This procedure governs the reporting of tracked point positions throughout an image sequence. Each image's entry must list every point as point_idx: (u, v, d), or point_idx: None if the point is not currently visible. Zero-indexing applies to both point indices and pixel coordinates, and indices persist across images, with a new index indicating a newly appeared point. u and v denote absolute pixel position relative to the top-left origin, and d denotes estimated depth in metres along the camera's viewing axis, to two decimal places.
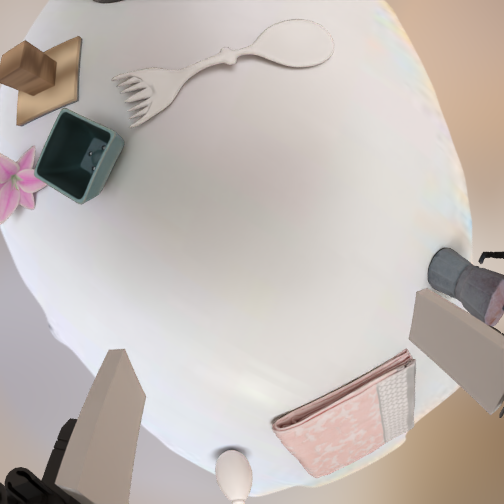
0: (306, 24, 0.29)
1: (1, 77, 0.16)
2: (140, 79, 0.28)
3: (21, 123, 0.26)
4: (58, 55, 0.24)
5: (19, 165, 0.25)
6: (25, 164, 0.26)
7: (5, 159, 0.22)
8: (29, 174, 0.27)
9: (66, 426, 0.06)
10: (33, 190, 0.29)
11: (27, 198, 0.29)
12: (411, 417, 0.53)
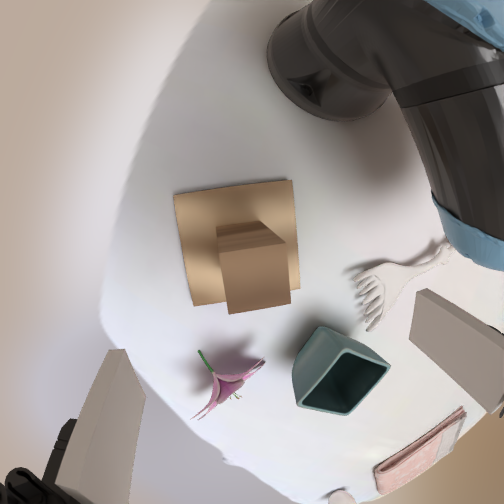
0: None
1: (240, 309, 0.19)
2: (377, 278, 0.31)
3: None
4: (260, 207, 0.27)
5: (241, 377, 0.28)
6: None
7: (238, 388, 0.25)
8: (245, 375, 0.30)
9: (66, 426, 0.06)
10: None
11: None
12: (453, 445, 0.56)
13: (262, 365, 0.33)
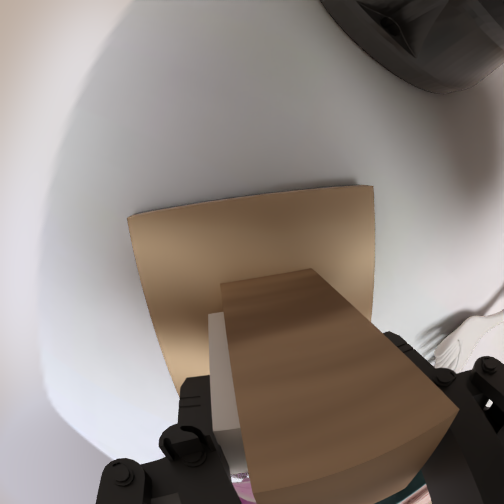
0: None
1: None
2: (458, 341, 0.17)
3: None
4: (313, 242, 0.13)
5: None
6: None
7: None
8: None
9: (185, 385, 0.08)
10: None
11: None
12: None
13: None
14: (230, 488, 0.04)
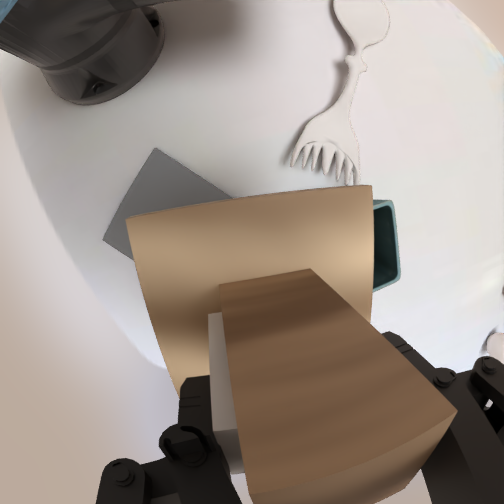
0: None
1: None
2: (313, 142, 0.27)
3: None
4: (311, 242, 0.13)
5: None
6: None
7: None
8: None
9: (185, 385, 0.08)
10: None
11: None
12: None
13: None
14: (230, 488, 0.04)
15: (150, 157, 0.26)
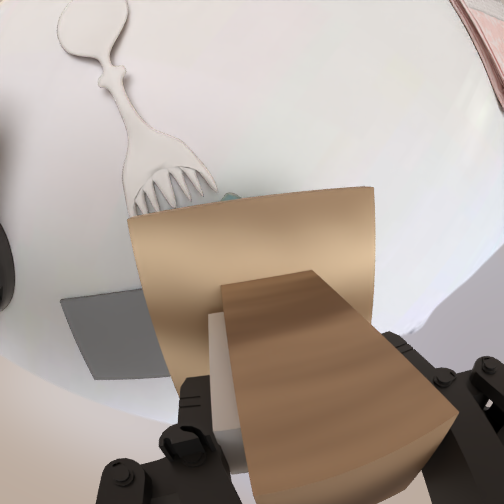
0: (65, 19, 0.16)
1: None
2: (140, 190, 0.23)
3: None
4: (313, 243, 0.13)
5: None
6: None
7: None
8: None
9: (185, 385, 0.08)
10: None
11: None
12: None
13: None
14: (230, 488, 0.04)
15: (63, 309, 0.26)
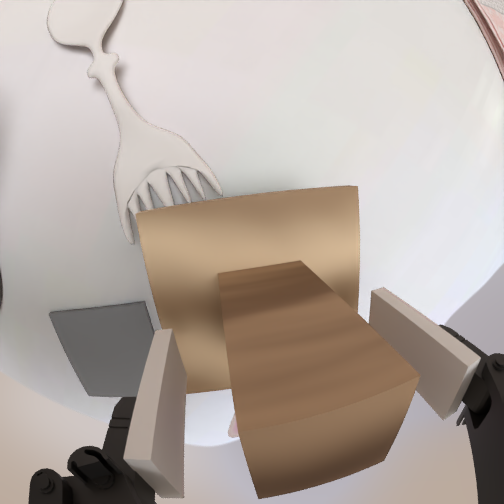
0: (56, 8, 0.13)
1: (285, 491, 0.06)
2: (133, 193, 0.20)
3: None
4: (301, 236, 0.14)
5: None
6: None
7: None
8: None
9: (119, 405, 0.07)
10: None
11: None
12: None
13: None
14: None
15: (53, 323, 0.23)
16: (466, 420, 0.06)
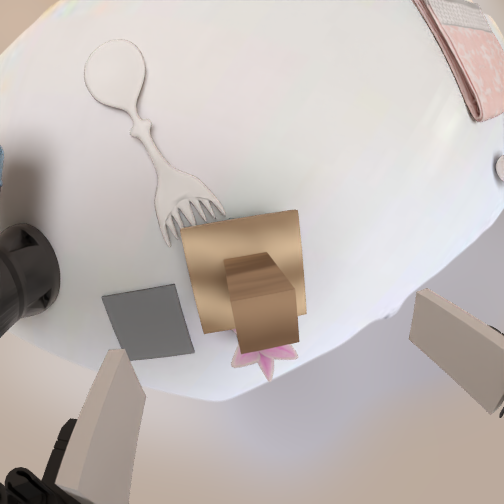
0: (90, 69, 0.26)
1: (252, 349, 0.19)
2: (169, 215, 0.34)
3: None
4: (266, 239, 0.28)
5: None
6: None
7: (238, 351, 0.33)
8: None
9: (66, 426, 0.06)
10: None
11: None
12: (469, 3, 0.25)
13: None
14: None
15: (104, 304, 0.36)
16: None
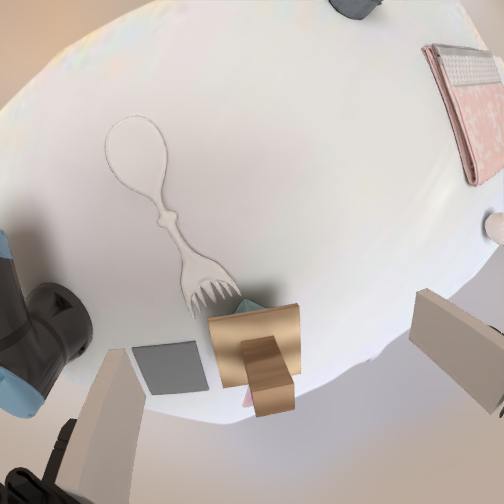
0: (111, 146, 0.33)
1: (263, 414, 0.27)
2: (193, 293, 0.41)
3: None
4: (274, 327, 0.35)
5: None
6: None
7: (247, 394, 0.40)
8: None
9: (66, 426, 0.06)
10: None
11: None
12: (482, 53, 0.33)
13: None
14: None
15: (134, 353, 0.43)
16: None
